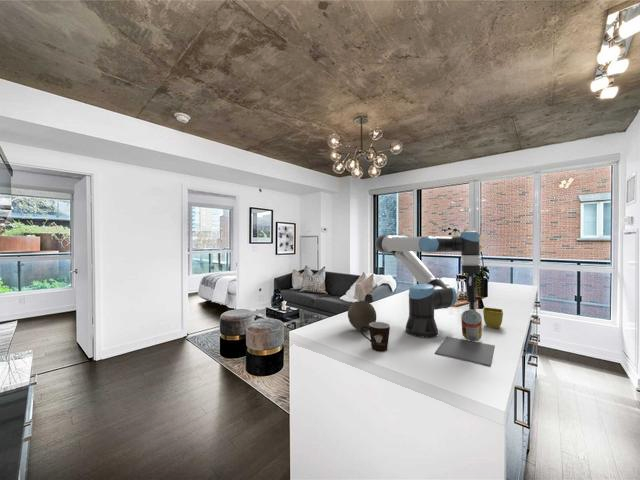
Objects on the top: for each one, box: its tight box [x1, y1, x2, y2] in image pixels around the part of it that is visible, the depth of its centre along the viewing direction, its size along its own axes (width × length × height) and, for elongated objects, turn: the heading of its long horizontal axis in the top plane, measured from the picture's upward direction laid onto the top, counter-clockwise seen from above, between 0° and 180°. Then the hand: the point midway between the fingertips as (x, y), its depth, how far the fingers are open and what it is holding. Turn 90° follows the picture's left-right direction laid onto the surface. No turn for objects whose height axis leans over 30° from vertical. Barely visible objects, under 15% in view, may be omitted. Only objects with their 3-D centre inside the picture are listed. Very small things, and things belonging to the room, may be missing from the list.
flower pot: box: [482, 306, 504, 329], centre depth 143 cm, size 9×9×9 cm
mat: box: [434, 336, 496, 367], centre depth 112 cm, size 19×23×1 cm
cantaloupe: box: [347, 300, 377, 332], centre depth 136 cm, size 14×14×15 cm
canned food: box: [460, 309, 483, 342], centre depth 122 cm, size 8×8×12 cm
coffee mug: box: [359, 321, 391, 353], centre depth 115 cm, size 12×9×10 cm
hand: (472, 315), depth 124 cm, fingers closed
